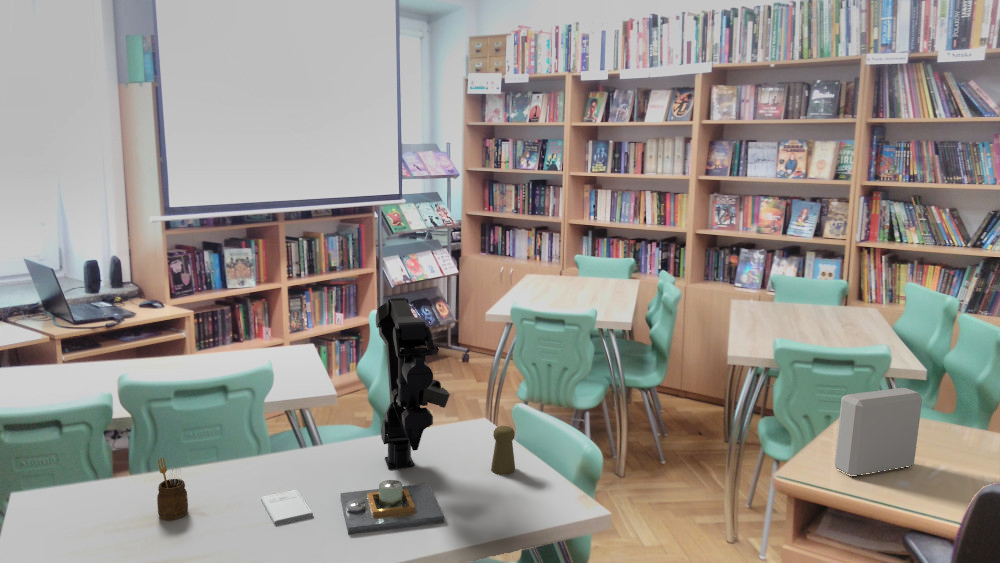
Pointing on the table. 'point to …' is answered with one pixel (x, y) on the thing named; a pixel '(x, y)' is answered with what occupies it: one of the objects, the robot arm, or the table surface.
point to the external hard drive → (286, 507)
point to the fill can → (390, 494)
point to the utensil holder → (171, 496)
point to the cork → (503, 451)
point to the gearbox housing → (390, 510)
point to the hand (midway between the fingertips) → (411, 442)
